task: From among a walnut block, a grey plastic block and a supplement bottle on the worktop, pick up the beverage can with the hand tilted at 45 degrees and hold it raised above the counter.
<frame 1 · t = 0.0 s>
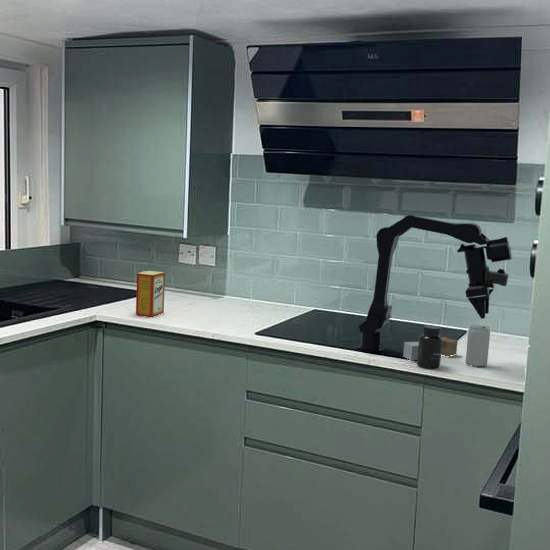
hand: (484, 316, 216), 15 cm above the worktop, tool pointing down, fingers open, 9 cm apart
walnut block: (445, 355, 230), on the worktop
grey plastic block: (414, 359, 222), on the worktop
beverage can: (475, 365, 219), on the worktop
baking soda box: (149, 314, 268), on the worktop
supplement bottle: (428, 367, 215), on the worktop
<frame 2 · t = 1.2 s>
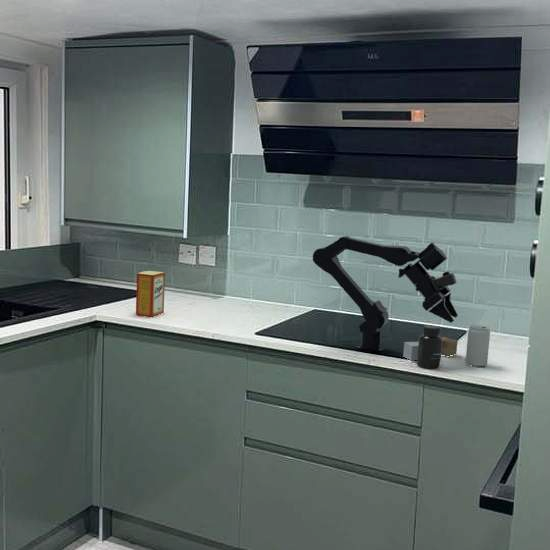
hand: (454, 319, 220), 13 cm above the worktop, tool tilted 45°, fingers open, 9 cm apart
nothing on the worktop moved.
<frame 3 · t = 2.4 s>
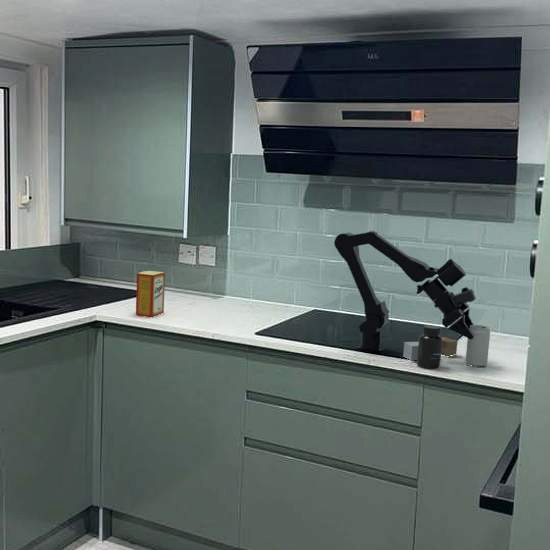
hand: (474, 335, 219), 9 cm above the worktop, tool tilted 45°, fingers open, 9 cm apart
nothing on the worktop moved.
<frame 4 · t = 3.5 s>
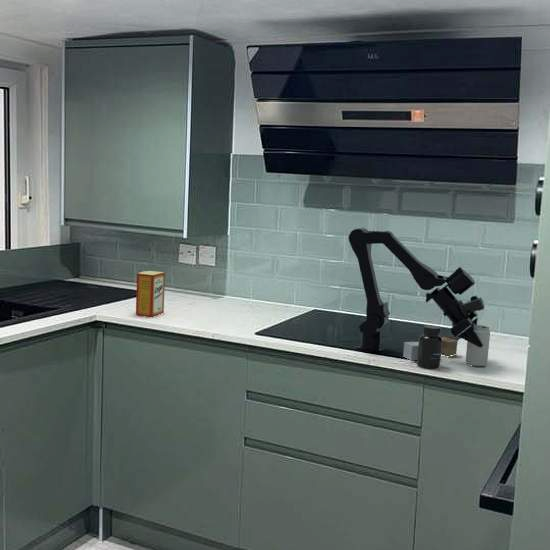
hand: (482, 344, 218), 7 cm above the worktop, tool tilted 45°, fingers closed on beverage can, 6 cm apart
beverage can: (475, 365, 219), on the worktop, touching gripper
everything else where it was.
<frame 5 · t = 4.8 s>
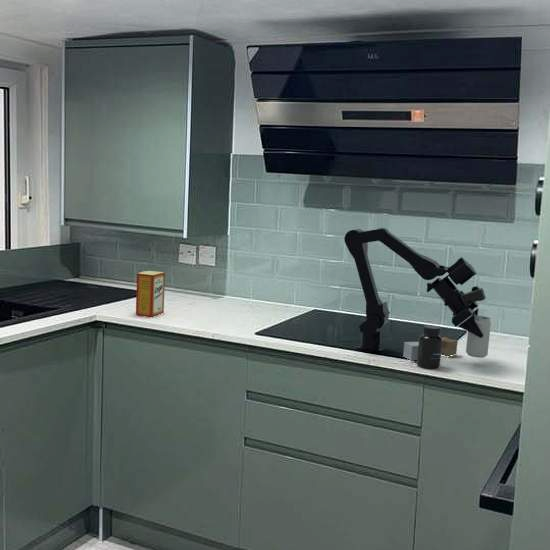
hand: (483, 334, 218), 10 cm above the worktop, tool tilted 45°, fingers closed on beverage can, 6 cm apart
beverage can: (476, 356, 219), point 3 cm above the worktop, touching gripper
everything else where it was.
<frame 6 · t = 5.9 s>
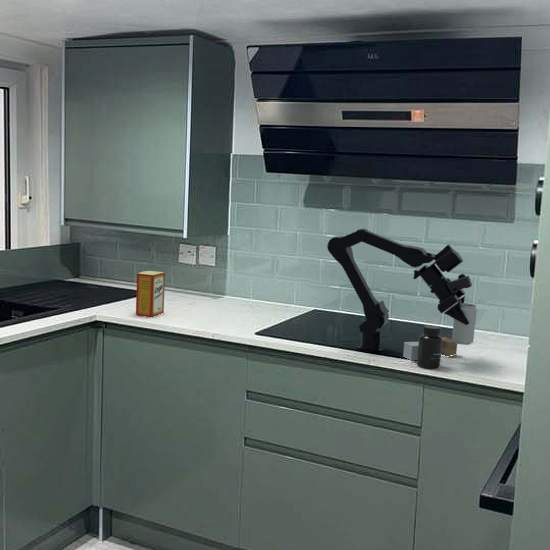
hand: (469, 322, 219), 13 cm above the worktop, tool tilted 45°, fingers closed on beverage can, 6 cm apart
beverage can: (462, 343, 220), point 6 cm above the worktop, touching gripper
everything else where it was.
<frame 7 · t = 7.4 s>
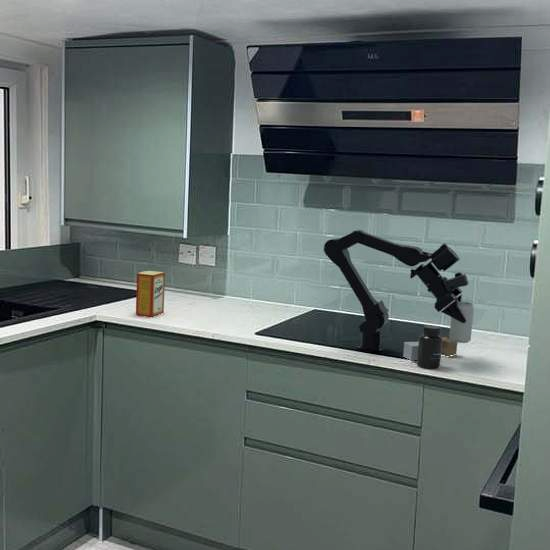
hand: (466, 320, 219), 13 cm above the worktop, tool tilted 45°, fingers closed on beverage can, 6 cm apart
beverage can: (459, 341, 220), point 6 cm above the worktop, touching gripper
everything else where it was.
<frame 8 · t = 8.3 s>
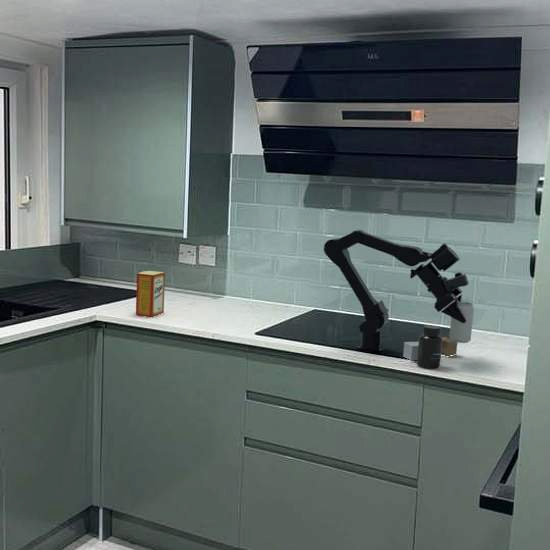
hand: (466, 320, 219), 13 cm above the worktop, tool tilted 45°, fingers closed on beverage can, 6 cm apart
beverage can: (459, 341, 220), point 6 cm above the worktop, touching gripper
everything else where it was.
at the end: the gripper is holding beverage can; beverage can point 6.5 cm above the worktop; walnut block moved 0.1 cm from its start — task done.
